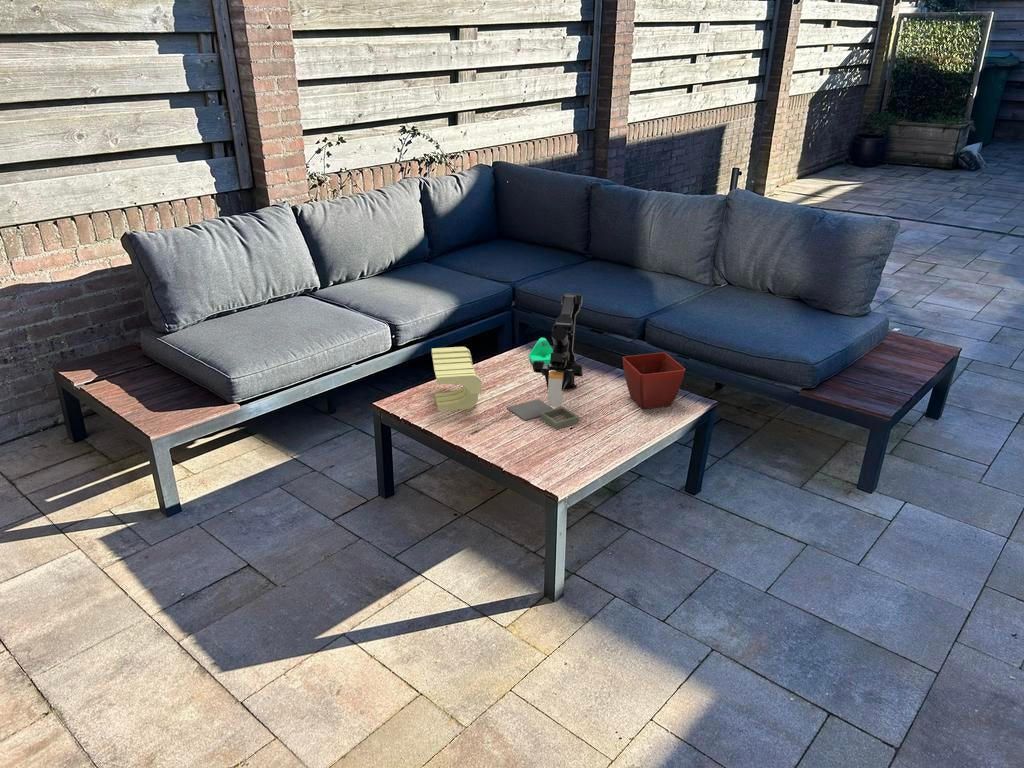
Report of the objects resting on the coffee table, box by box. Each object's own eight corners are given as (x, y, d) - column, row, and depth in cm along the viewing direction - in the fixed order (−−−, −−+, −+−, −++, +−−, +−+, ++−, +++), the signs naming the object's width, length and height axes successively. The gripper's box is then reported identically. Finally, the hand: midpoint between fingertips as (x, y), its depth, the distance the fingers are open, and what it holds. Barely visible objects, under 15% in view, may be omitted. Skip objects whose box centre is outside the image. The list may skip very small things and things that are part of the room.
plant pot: (637, 414, 315) (641, 374, 308) (619, 394, 331) (621, 356, 325) (682, 408, 319) (686, 369, 312) (661, 389, 336) (665, 352, 329)
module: (549, 401, 309) (550, 371, 304) (562, 402, 308) (563, 372, 303) (547, 405, 305) (548, 375, 300) (560, 406, 304) (561, 376, 299)
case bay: (562, 412, 315) (562, 406, 314) (578, 422, 307) (579, 416, 306) (540, 418, 310) (540, 412, 309) (556, 429, 302) (556, 423, 301)
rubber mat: (538, 400, 325) (538, 398, 325) (556, 412, 315) (556, 410, 315) (506, 408, 318) (506, 407, 318) (524, 421, 308) (524, 419, 308)
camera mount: (532, 366, 358) (533, 344, 354) (528, 359, 365) (529, 338, 361) (558, 364, 361) (559, 342, 357) (554, 358, 368) (555, 336, 363)
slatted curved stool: (481, 417, 311) (481, 374, 303) (440, 420, 308) (439, 377, 301) (470, 386, 338) (470, 346, 330) (432, 388, 335) (431, 348, 328)
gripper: (533, 340, 302) (527, 379, 297) (583, 345, 299) (578, 384, 293) (537, 352, 312) (531, 390, 307) (585, 356, 309) (580, 394, 304)
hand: (555, 389), depth 302 cm, fingers closed on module, 5 cm apart
